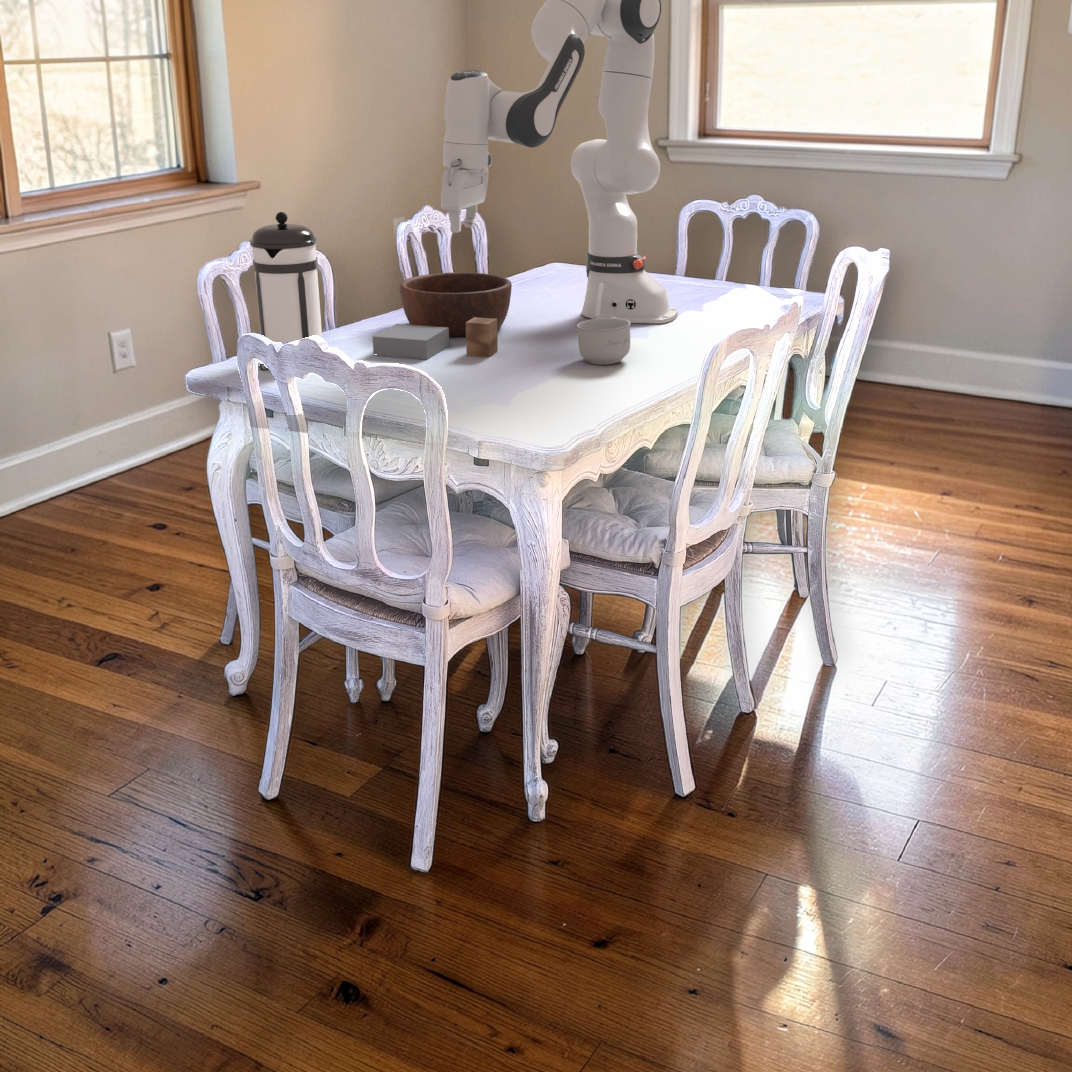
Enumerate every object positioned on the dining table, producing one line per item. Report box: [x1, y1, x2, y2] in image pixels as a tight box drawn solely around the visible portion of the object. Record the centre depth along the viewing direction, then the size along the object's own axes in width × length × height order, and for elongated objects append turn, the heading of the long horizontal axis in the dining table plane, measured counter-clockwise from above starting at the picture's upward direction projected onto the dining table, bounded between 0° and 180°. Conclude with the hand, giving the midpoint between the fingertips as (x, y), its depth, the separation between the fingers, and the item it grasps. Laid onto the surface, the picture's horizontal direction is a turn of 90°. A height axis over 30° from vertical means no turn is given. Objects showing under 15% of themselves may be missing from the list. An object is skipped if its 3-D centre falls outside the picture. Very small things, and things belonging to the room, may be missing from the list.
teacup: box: [576, 317, 632, 366], centre depth 246 cm, size 14×11×8 cm
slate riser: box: [372, 323, 450, 361], centre depth 254 cm, size 12×12×4 cm
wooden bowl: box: [399, 271, 513, 338], centre depth 273 cm, size 25×25×10 cm
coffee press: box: [249, 211, 323, 371], centre depth 240 cm, size 17×16×30 cm
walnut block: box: [465, 317, 499, 358], centre depth 251 cm, size 5×5×7 cm
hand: (462, 229), depth 245 cm, fingers open, 8 cm apart
